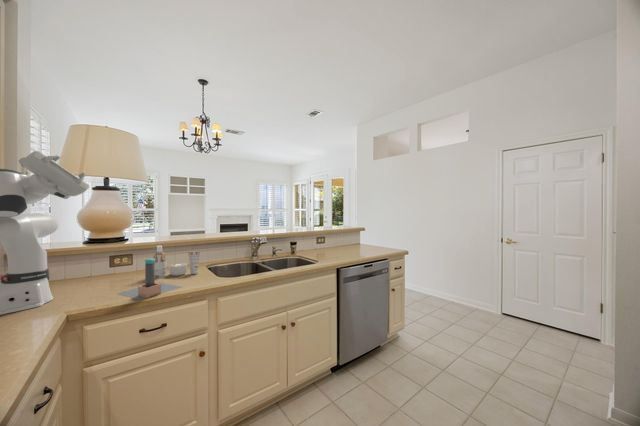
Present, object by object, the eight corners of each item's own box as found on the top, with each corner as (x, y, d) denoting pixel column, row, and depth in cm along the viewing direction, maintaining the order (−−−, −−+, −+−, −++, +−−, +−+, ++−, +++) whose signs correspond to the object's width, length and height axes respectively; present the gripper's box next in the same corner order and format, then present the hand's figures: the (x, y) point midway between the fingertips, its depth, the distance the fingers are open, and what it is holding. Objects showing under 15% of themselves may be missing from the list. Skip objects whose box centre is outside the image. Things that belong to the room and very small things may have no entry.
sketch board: (140, 301, 110) (140, 300, 110) (116, 295, 118) (116, 293, 118) (182, 288, 128) (182, 286, 128) (159, 283, 137) (159, 282, 136)
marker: (148, 295, 115) (148, 260, 114) (143, 293, 116) (143, 259, 116) (156, 292, 118) (156, 259, 118) (151, 291, 120) (151, 258, 119)
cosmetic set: (200, 271, 162) (200, 242, 162) (200, 275, 154) (199, 244, 153) (154, 275, 152) (154, 245, 151) (151, 280, 143) (151, 247, 143)
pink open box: (146, 297, 113) (146, 288, 113) (138, 295, 116) (137, 286, 116) (161, 293, 119) (161, 284, 119) (152, 291, 122) (152, 282, 121)
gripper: (22, 157, 97) (46, 141, 94) (78, 192, 111) (100, 179, 108) (10, 166, 93) (34, 149, 90) (70, 201, 106) (93, 187, 103)
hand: (71, 165), depth 99 cm, fingers open, 8 cm apart
